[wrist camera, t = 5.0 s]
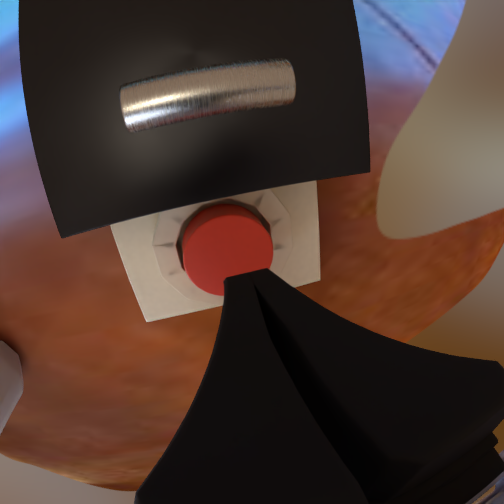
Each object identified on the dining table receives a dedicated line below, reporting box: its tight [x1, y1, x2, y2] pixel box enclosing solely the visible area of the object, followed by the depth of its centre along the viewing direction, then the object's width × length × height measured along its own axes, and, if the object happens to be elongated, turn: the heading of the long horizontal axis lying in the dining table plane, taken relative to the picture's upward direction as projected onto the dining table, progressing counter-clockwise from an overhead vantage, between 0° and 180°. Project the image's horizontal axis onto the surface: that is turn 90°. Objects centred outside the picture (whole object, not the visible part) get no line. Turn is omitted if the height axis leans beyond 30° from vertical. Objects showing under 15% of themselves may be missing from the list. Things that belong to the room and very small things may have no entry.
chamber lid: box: [19, 0, 370, 238], centre depth 8 cm, size 12×14×4 cm
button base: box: [110, 181, 320, 322], centre depth 17 cm, size 9×12×3 cm
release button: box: [182, 204, 273, 296], centre depth 15 cm, size 4×4×2 cm
